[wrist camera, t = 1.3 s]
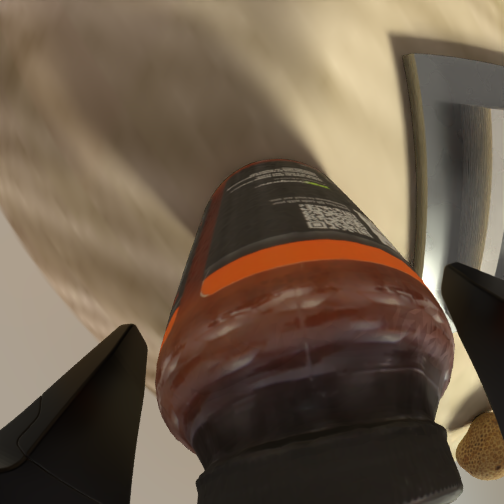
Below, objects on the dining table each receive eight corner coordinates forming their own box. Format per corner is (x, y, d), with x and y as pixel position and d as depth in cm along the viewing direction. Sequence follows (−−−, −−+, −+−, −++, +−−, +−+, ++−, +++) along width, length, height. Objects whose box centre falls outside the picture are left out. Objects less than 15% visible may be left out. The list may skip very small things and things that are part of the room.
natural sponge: (516, 391, 23) (544, 446, 14) (473, 432, 27) (494, 484, 18) (488, 395, 22) (520, 462, 13) (438, 439, 26) (459, 502, 17)
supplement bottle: (238, 300, 14) (229, 556, 4) (181, 189, 12) (17, 487, 2) (358, 259, 13) (470, 501, 3) (321, 134, 11) (612, 358, 1)
